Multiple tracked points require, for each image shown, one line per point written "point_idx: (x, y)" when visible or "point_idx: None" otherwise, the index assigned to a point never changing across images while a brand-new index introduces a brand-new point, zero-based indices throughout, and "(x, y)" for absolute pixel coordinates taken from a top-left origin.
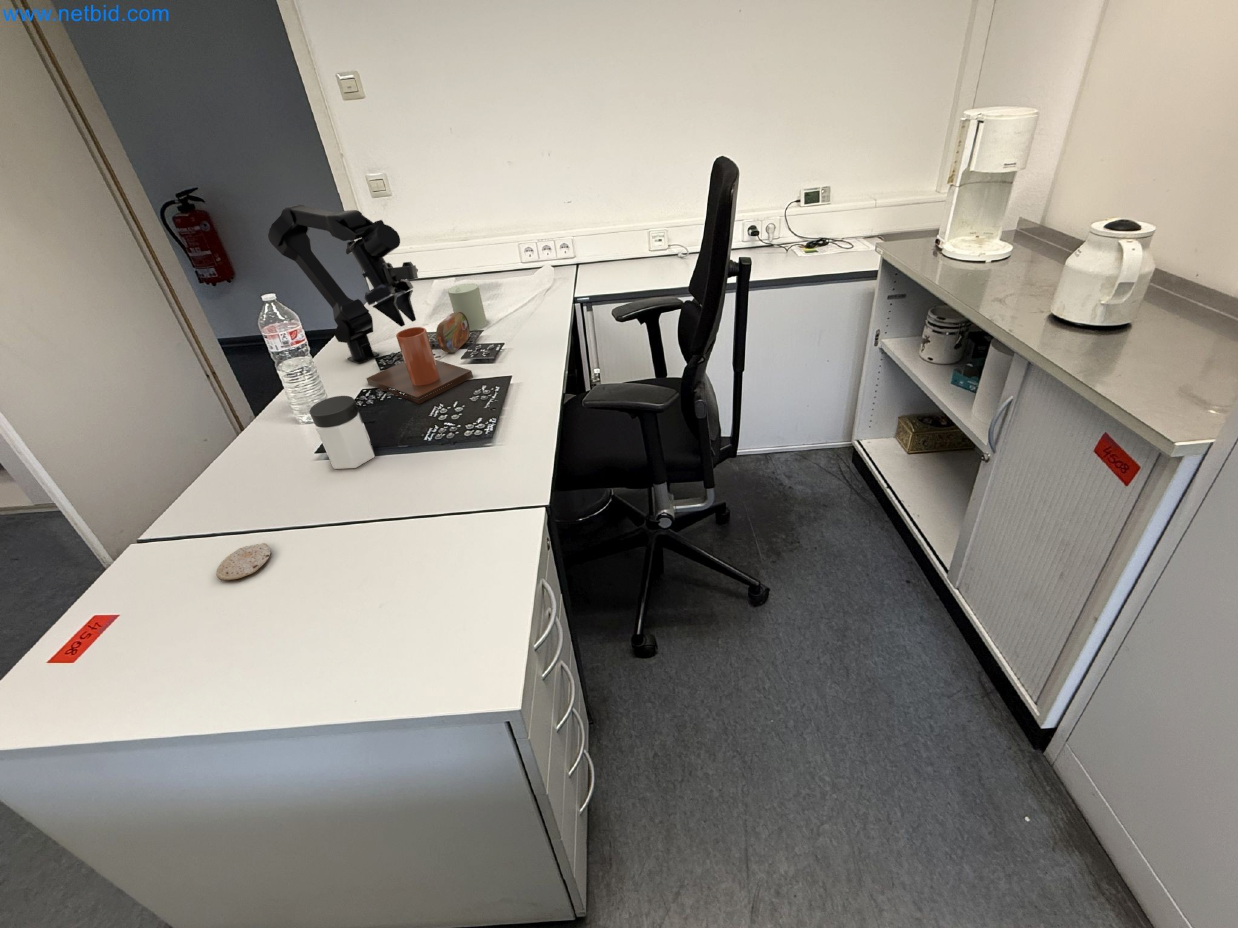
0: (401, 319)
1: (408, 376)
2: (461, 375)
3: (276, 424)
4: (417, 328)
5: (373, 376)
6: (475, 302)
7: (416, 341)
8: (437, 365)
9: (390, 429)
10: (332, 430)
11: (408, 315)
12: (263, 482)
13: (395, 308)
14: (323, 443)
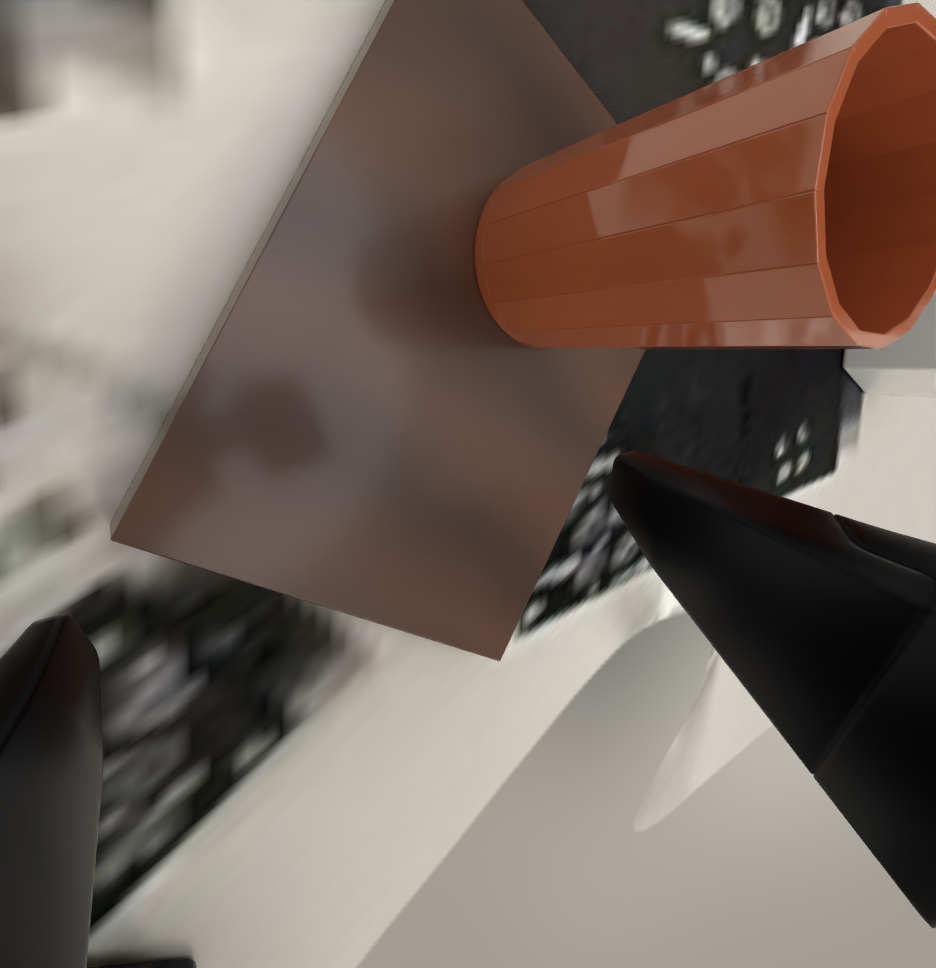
0: (705, 479)
1: (500, 403)
2: None
3: (708, 734)
4: (821, 157)
5: (483, 634)
6: None
7: (904, 123)
8: (347, 250)
9: None
10: None
11: (81, 768)
12: (888, 510)
13: (918, 552)
14: None
